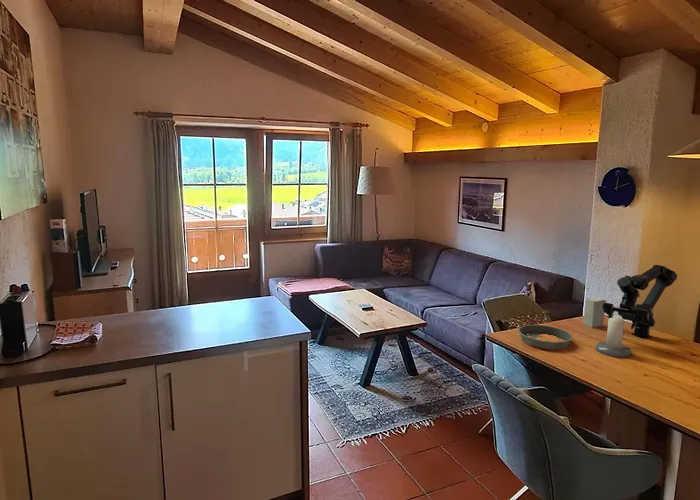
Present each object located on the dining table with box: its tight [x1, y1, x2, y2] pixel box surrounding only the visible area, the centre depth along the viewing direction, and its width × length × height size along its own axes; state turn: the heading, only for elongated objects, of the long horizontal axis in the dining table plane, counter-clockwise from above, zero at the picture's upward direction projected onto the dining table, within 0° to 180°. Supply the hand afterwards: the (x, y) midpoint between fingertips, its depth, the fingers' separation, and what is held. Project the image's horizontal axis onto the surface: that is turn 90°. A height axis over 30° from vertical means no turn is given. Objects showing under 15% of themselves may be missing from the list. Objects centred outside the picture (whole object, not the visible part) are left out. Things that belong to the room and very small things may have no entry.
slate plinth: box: [595, 341, 632, 359], centre depth 210 cm, size 14×14×2 cm
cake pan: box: [517, 324, 574, 350], centre depth 222 cm, size 25×25×4 cm
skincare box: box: [583, 296, 607, 329], centre depth 245 cm, size 8×6×15 cm
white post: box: [605, 317, 625, 350], centre depth 209 cm, size 6×6×13 cm
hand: (620, 326), depth 214 cm, fingers open, 9 cm apart
